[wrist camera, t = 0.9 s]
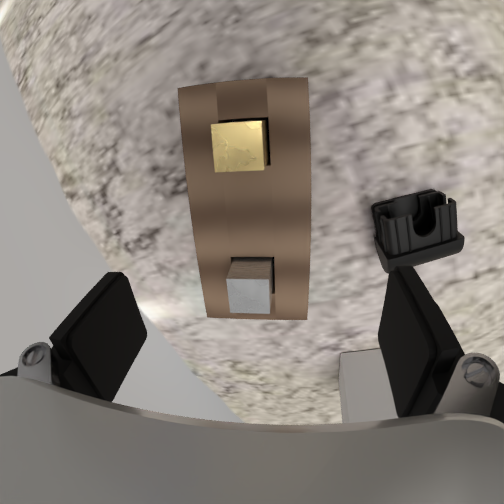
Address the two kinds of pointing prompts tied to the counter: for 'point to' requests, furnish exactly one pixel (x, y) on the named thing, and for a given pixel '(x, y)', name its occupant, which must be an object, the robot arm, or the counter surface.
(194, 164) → the walnut block
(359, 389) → the milk carton
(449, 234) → the end cap
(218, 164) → the brass peg
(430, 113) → the counter surface
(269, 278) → the steel peg
